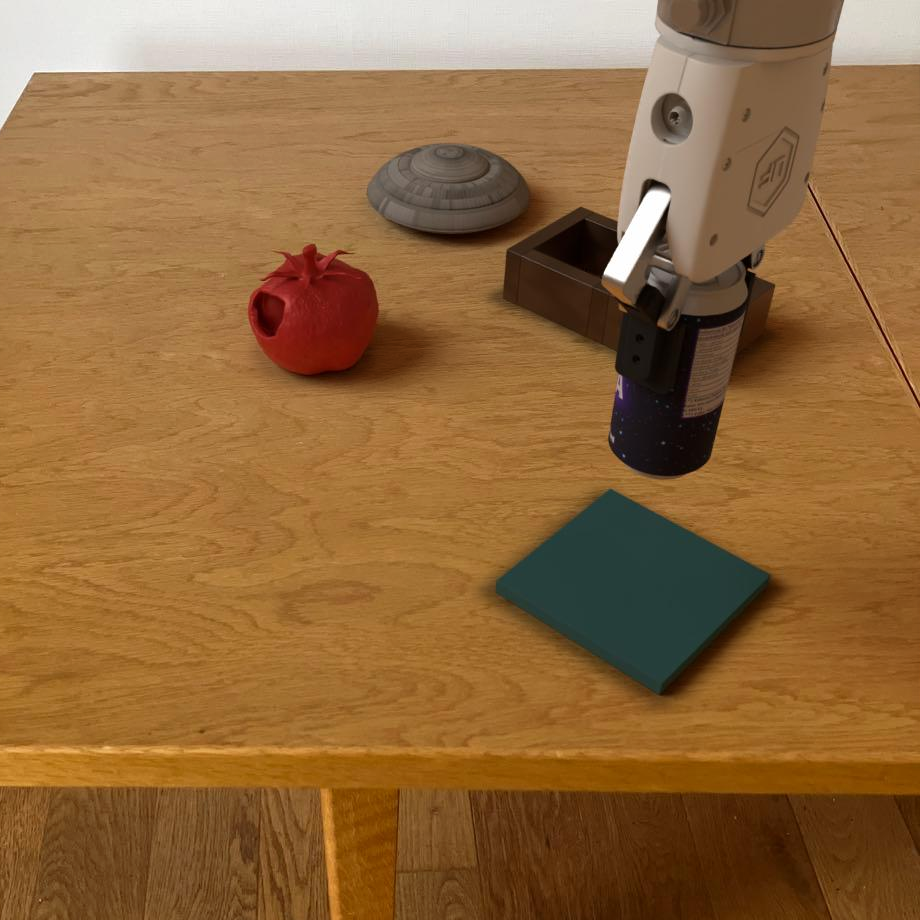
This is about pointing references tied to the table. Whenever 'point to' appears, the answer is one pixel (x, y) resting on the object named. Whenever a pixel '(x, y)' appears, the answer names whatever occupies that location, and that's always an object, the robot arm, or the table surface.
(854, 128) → the table surface
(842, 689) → the table surface
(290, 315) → the pomegranate
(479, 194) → the flying saucer
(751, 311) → the box
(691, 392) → the beverage can
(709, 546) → the mat
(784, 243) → the table surface
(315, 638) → the table surface
